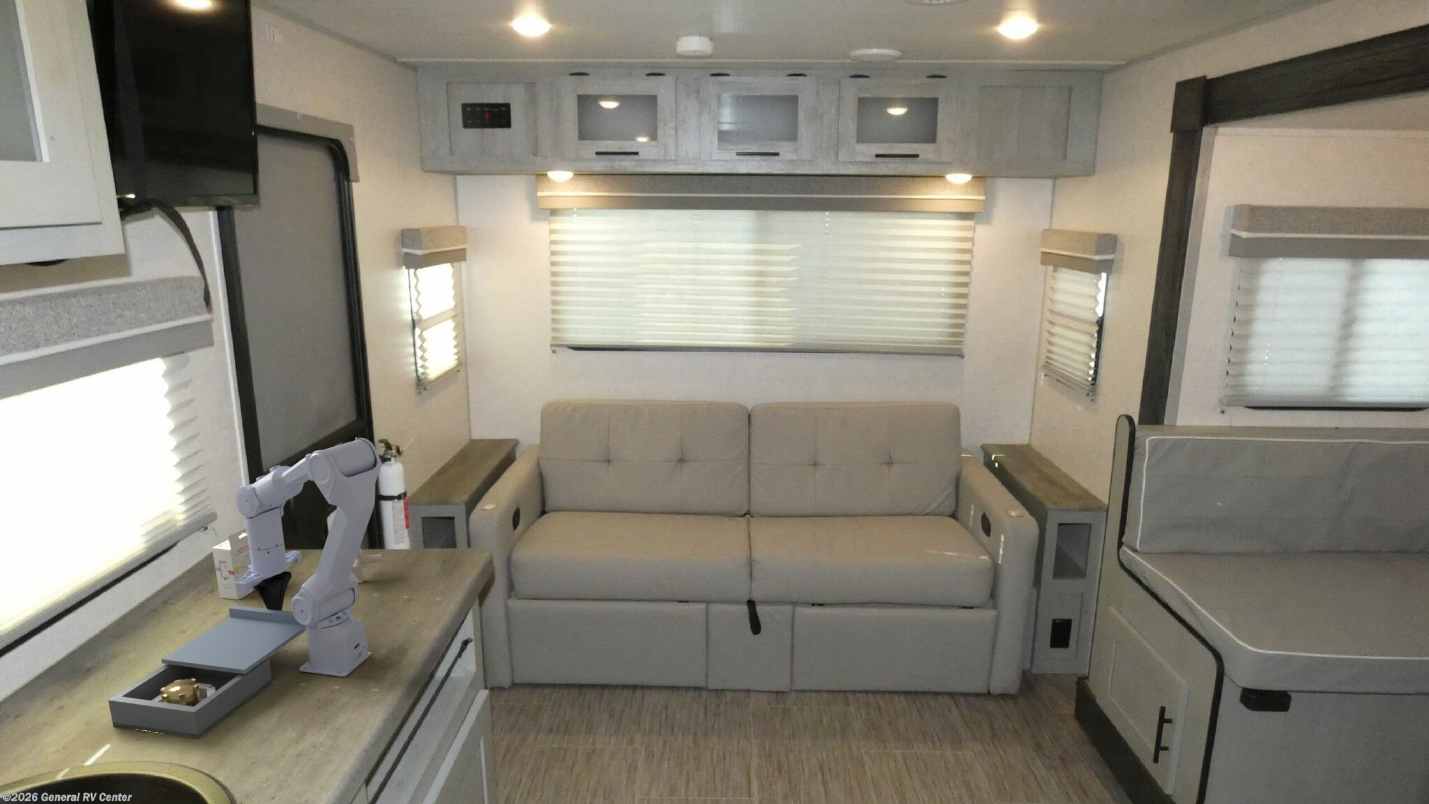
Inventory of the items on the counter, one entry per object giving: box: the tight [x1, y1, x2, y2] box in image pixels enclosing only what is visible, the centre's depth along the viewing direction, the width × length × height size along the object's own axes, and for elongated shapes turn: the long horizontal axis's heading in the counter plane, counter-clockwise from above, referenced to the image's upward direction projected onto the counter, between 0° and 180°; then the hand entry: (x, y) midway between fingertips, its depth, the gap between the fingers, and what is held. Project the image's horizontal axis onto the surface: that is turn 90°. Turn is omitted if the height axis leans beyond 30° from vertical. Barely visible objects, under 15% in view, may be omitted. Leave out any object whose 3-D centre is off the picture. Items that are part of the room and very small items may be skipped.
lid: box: [161, 605, 306, 674], centre depth 144 cm, size 16×16×3 cm
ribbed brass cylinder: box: [160, 679, 201, 707], centre depth 132 cm, size 5×5×4 cm
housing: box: [107, 657, 273, 740], centre depth 135 cm, size 16×16×5 cm
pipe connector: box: [351, 547, 382, 584], centre depth 180 cm, size 10×10×10 cm
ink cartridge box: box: [211, 526, 256, 600], centre depth 175 cm, size 9×5×15 cm, turn 168°
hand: (275, 611), depth 153 cm, fingers closed
